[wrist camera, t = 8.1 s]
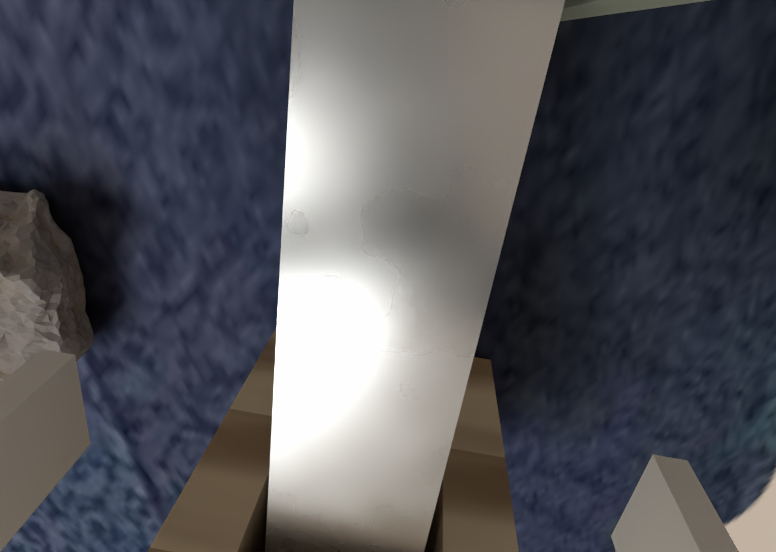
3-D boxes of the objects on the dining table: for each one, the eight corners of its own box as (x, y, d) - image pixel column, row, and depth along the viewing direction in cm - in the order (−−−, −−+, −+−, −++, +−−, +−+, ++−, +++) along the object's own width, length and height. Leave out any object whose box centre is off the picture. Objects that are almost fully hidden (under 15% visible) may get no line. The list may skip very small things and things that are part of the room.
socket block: (279, 323, 22) (120, 597, 11) (490, 359, 21) (537, 677, 11) (274, 411, 24) (137, 714, 13) (467, 446, 23) (486, 782, 13)
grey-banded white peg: (355, -177, 10) (304, -303, 6) (564, -147, 9) (636, -258, 6) (296, 500, 17) (259, 619, 14) (410, 521, 17) (401, 646, 14)
